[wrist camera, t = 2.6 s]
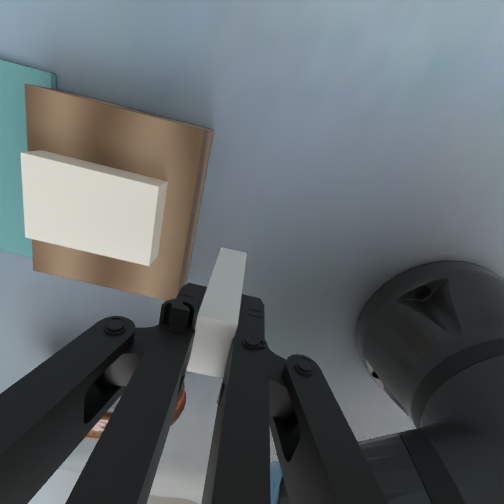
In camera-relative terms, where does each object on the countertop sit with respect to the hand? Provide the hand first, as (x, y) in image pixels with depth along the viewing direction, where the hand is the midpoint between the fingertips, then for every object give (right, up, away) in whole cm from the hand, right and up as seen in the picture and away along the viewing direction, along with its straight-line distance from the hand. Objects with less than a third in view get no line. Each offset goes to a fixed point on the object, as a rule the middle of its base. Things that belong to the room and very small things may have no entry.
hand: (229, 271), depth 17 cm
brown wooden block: (-9, +6, +9) cm, 14 cm away
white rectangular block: (-10, +5, +5) cm, 12 cm away
